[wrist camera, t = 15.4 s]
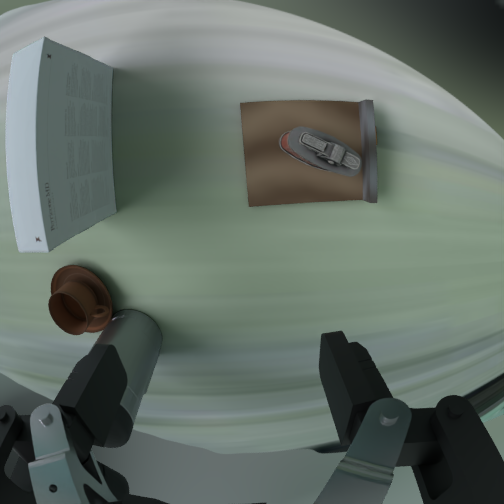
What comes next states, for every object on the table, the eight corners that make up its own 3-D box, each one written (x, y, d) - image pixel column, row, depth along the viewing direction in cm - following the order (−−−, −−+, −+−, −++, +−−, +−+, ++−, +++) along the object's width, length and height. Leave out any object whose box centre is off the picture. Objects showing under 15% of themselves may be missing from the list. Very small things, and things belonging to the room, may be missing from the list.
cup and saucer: (97, 252, 38) (78, 268, 32) (128, 321, 42) (115, 343, 36) (46, 270, 39) (26, 285, 33) (75, 330, 43) (60, 350, 37)
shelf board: (369, 197, 36) (380, 202, 33) (248, 205, 36) (249, 210, 33) (365, 104, 32) (376, 100, 29) (240, 104, 32) (240, 99, 29)
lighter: (342, 153, 33) (377, 155, 24) (332, 177, 34) (364, 186, 25) (284, 126, 32) (301, 115, 23) (274, 150, 33) (287, 149, 24)
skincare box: (81, 75, 29) (11, 51, 14) (114, 67, 29) (50, 32, 14) (85, 216, 36) (16, 254, 21) (117, 214, 36) (53, 253, 21)
